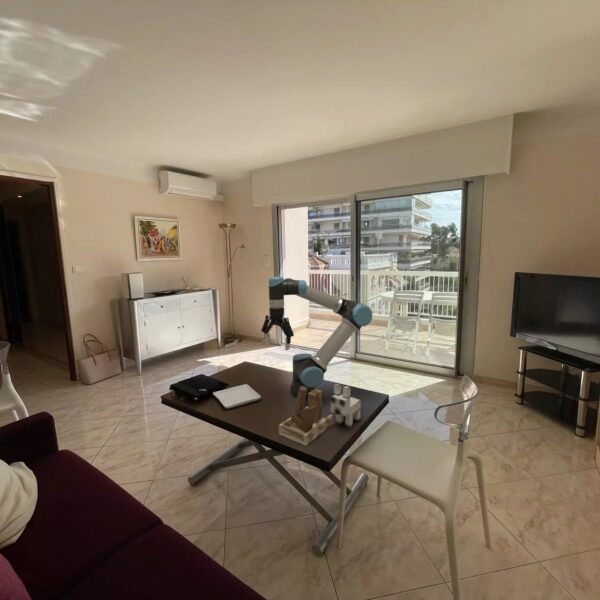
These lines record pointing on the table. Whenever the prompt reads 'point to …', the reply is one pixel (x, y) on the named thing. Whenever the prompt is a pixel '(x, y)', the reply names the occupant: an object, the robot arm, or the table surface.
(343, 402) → the toy llama
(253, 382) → the table surface
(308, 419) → the brown wooden figure
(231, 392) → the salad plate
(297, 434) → the tray
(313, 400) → the tall brown block
